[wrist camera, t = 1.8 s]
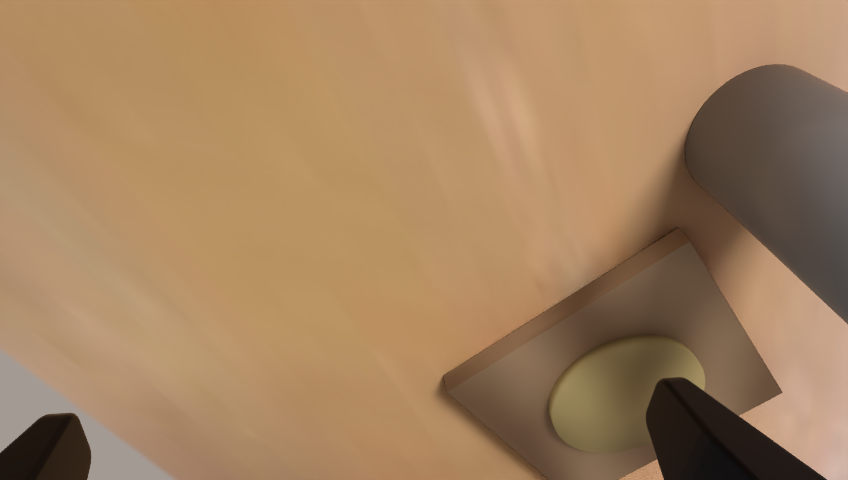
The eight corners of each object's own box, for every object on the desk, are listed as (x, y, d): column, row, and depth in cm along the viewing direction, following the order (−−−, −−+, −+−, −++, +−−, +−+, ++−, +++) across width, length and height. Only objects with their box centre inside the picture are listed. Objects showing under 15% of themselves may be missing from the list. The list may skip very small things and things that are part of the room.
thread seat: (569, 486, 34) (578, 512, 32) (443, 376, 28) (448, 403, 26) (770, 377, 31) (790, 401, 29) (678, 227, 25) (697, 249, 23)
